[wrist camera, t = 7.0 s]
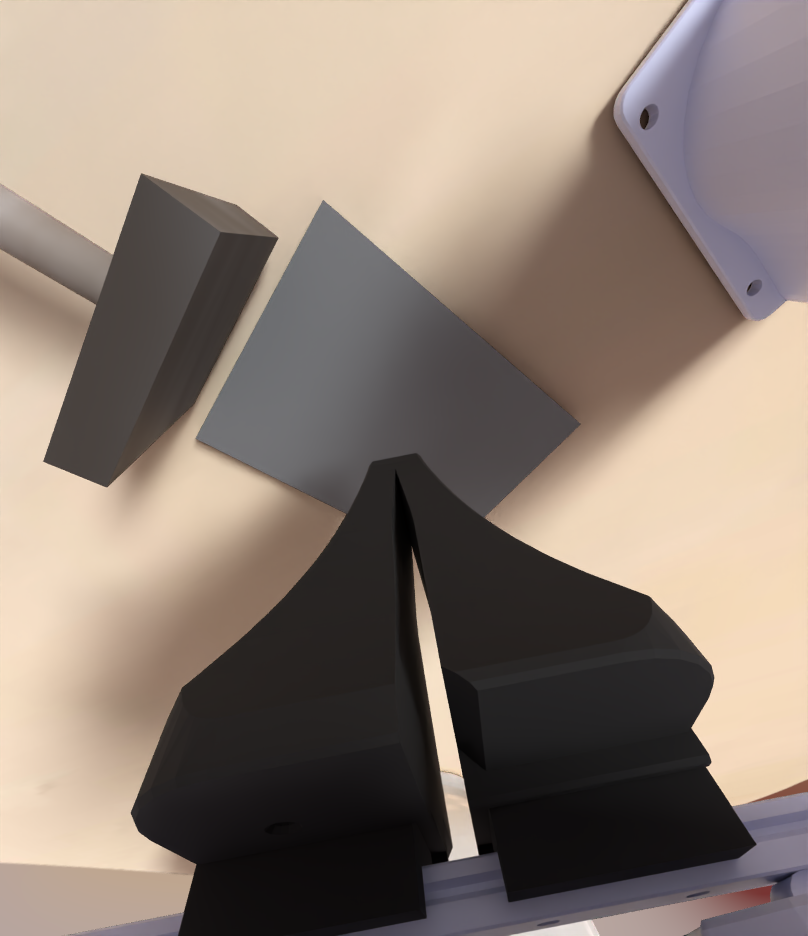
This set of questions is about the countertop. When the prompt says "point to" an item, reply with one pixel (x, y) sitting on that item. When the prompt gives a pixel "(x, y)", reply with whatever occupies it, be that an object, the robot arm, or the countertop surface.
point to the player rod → (141, 313)
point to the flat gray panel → (376, 383)
